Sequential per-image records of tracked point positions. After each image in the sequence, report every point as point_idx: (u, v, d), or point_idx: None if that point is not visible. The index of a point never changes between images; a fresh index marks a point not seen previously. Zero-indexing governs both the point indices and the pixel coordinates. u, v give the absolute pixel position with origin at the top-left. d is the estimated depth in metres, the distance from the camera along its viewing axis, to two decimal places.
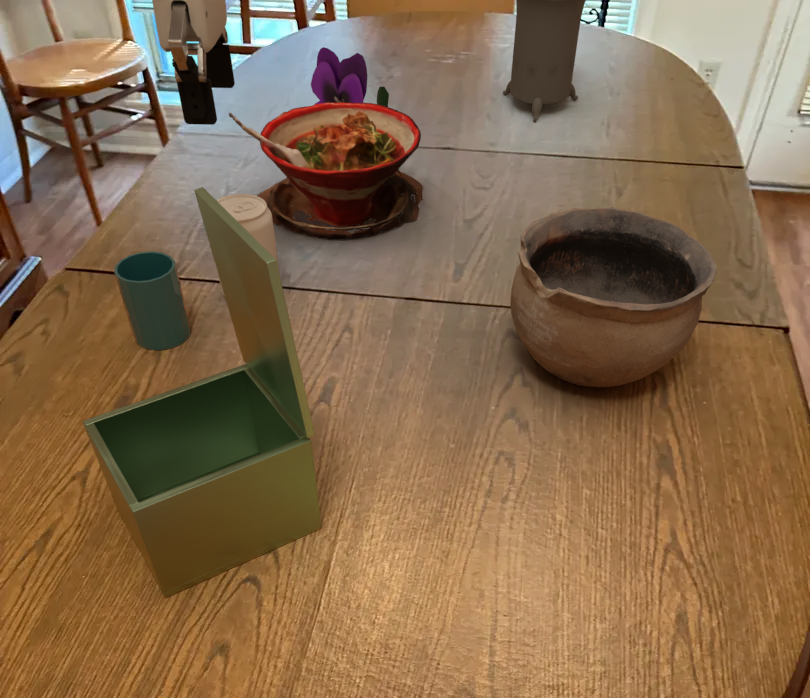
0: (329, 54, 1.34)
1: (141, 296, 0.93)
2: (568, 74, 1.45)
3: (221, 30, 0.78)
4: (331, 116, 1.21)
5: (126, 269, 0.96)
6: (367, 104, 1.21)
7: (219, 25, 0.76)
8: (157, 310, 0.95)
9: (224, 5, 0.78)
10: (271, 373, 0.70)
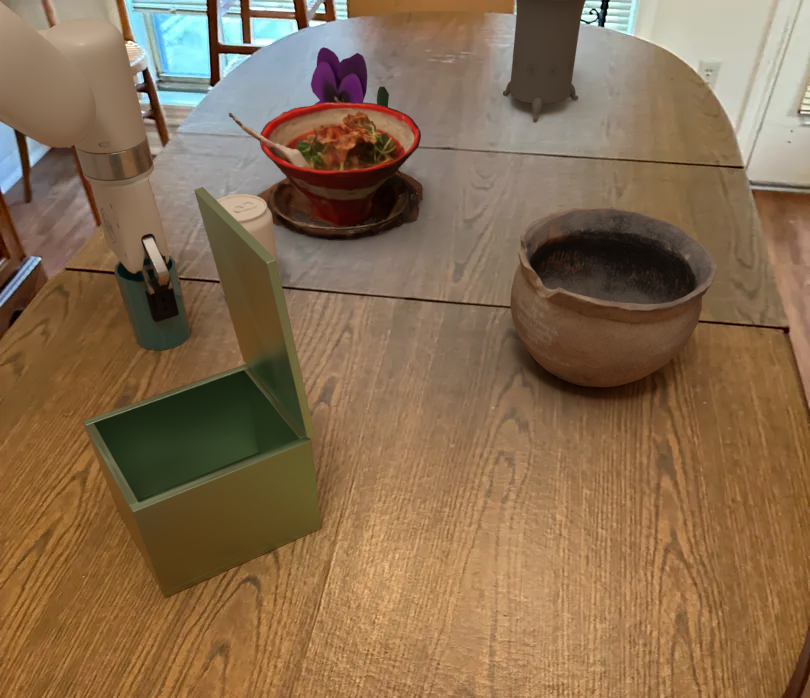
0: (329, 54, 1.34)
1: (141, 296, 0.93)
2: (568, 74, 1.45)
3: None
4: (331, 116, 1.21)
5: (126, 269, 0.96)
6: (367, 104, 1.21)
7: None
8: None
9: None
10: (271, 373, 0.70)
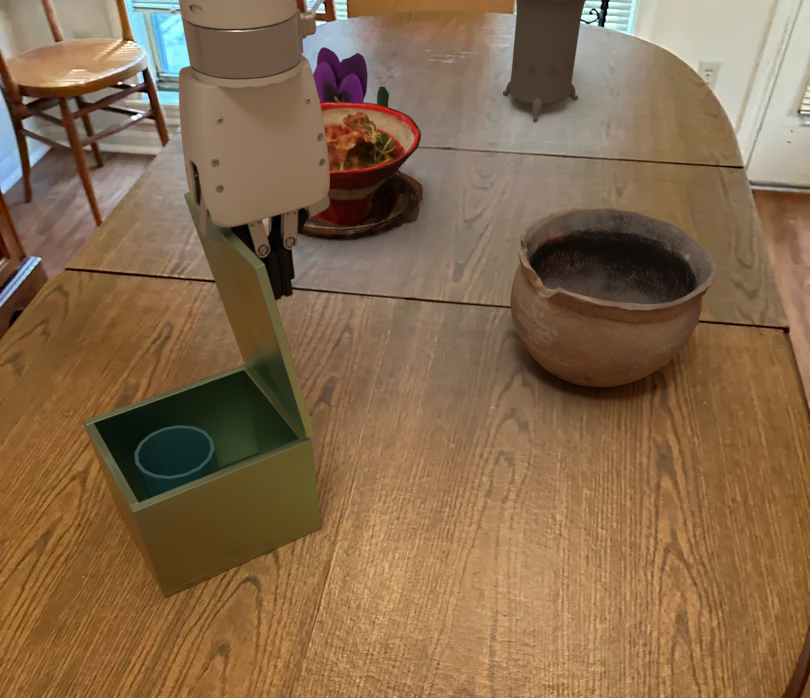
0: (329, 54, 1.34)
1: None
2: (568, 74, 1.45)
3: (287, 208, 0.60)
4: (331, 116, 1.21)
5: (147, 452, 0.73)
6: (367, 104, 1.21)
7: (275, 202, 0.59)
8: None
9: (313, 181, 0.59)
10: (269, 374, 0.70)
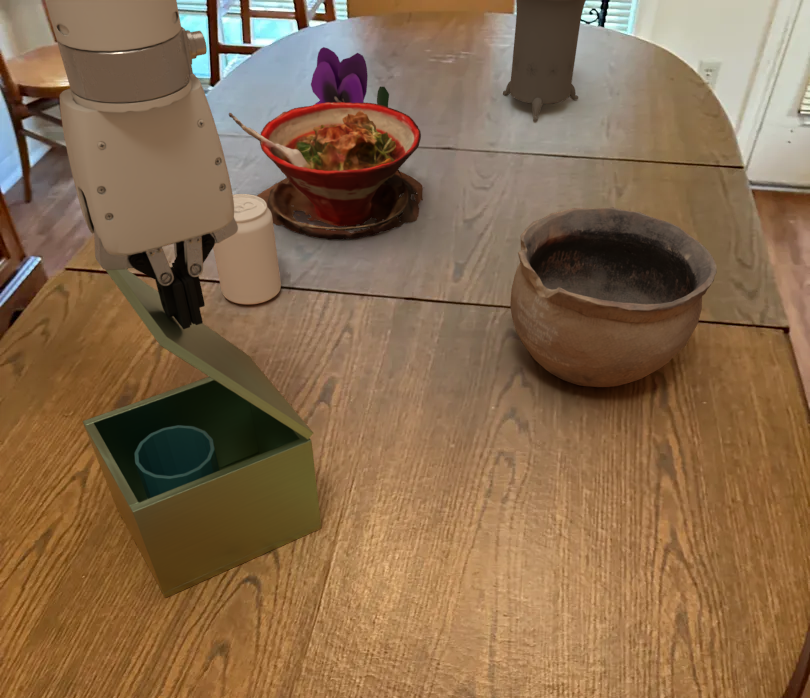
0: (329, 54, 1.34)
1: None
2: (568, 74, 1.45)
3: (187, 235, 0.57)
4: (331, 116, 1.21)
5: (147, 452, 0.73)
6: (367, 104, 1.21)
7: (173, 229, 0.56)
8: None
9: (214, 207, 0.56)
10: None
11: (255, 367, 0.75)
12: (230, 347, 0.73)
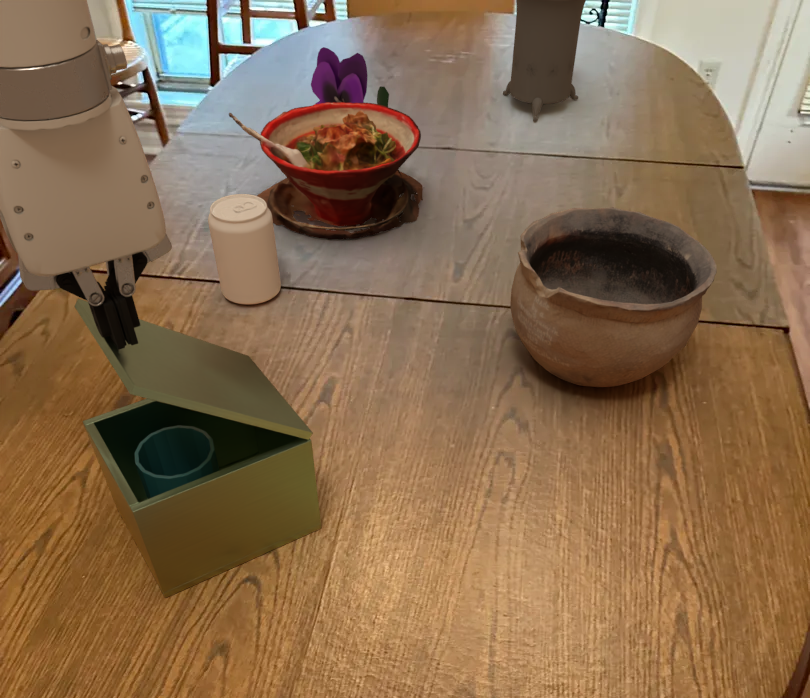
0: (329, 54, 1.34)
1: None
2: (568, 74, 1.45)
3: (116, 254, 0.55)
4: (331, 116, 1.21)
5: (147, 452, 0.73)
6: (367, 104, 1.21)
7: (99, 249, 0.54)
8: None
9: (143, 225, 0.55)
10: None
11: (252, 369, 0.75)
12: (223, 355, 0.73)
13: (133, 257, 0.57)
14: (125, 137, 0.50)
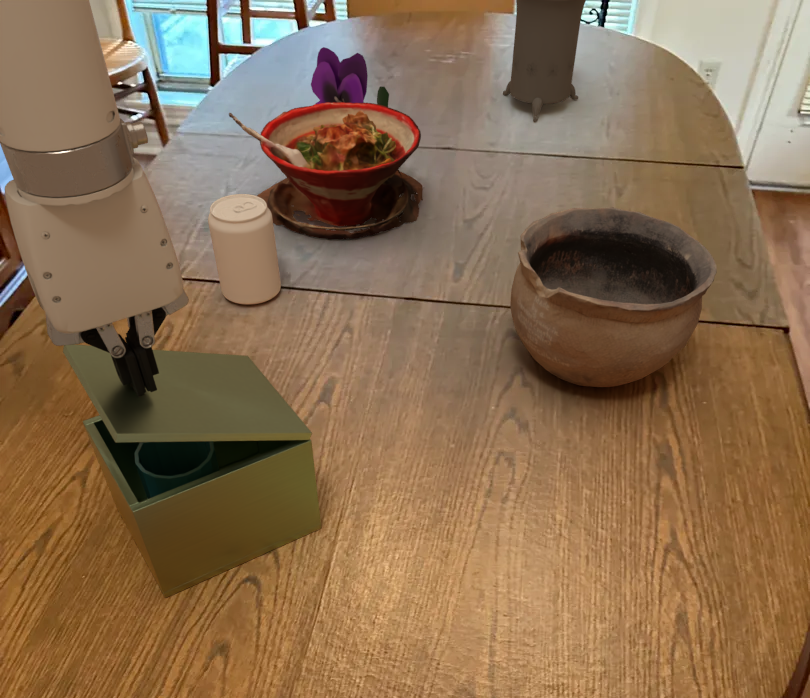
0: (329, 54, 1.34)
1: None
2: (568, 74, 1.45)
3: (137, 311, 0.58)
4: (331, 116, 1.21)
5: (147, 452, 0.73)
6: (367, 104, 1.21)
7: (121, 307, 0.57)
8: None
9: (162, 284, 0.58)
10: None
11: (250, 372, 0.75)
12: (219, 365, 0.73)
13: (152, 312, 0.60)
14: (146, 206, 0.54)
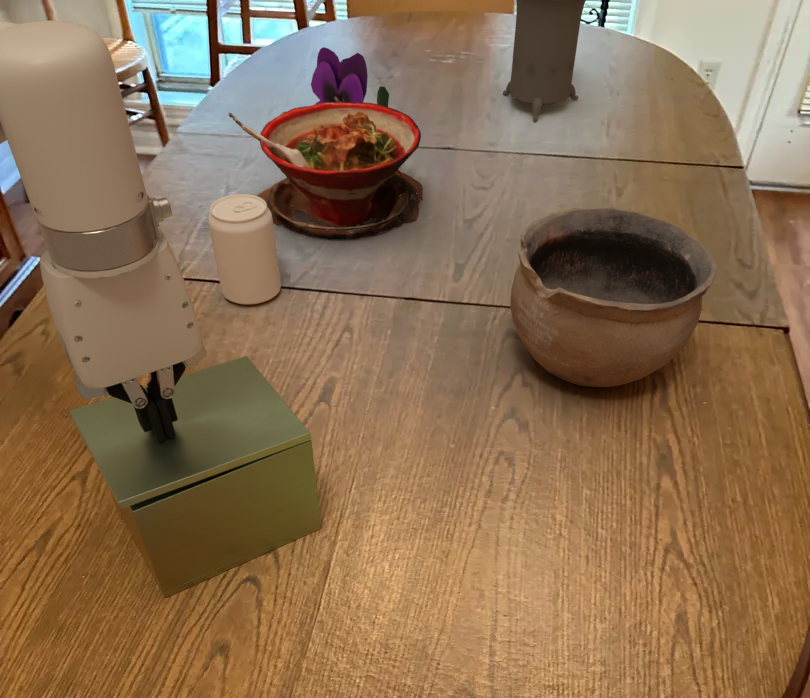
0: (329, 54, 1.34)
1: None
2: (568, 74, 1.45)
3: (159, 366, 0.62)
4: (331, 116, 1.21)
5: None
6: (367, 104, 1.21)
7: (145, 364, 0.61)
8: None
9: (183, 342, 0.62)
10: None
11: (249, 377, 0.75)
12: (216, 379, 0.74)
13: (173, 365, 0.65)
14: (170, 274, 0.58)
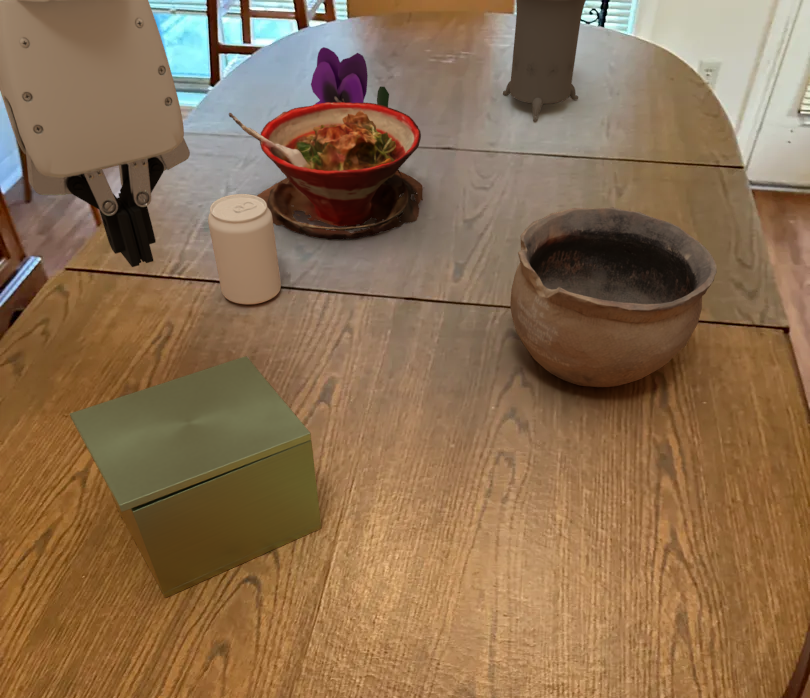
0: (329, 54, 1.34)
1: None
2: (568, 74, 1.45)
3: (131, 156, 0.51)
4: (331, 116, 1.21)
5: None
6: (367, 104, 1.21)
7: (113, 148, 0.50)
8: None
9: (160, 124, 0.51)
10: None
11: (249, 377, 0.75)
12: (216, 380, 0.74)
13: (149, 163, 0.53)
14: (142, 20, 0.47)
